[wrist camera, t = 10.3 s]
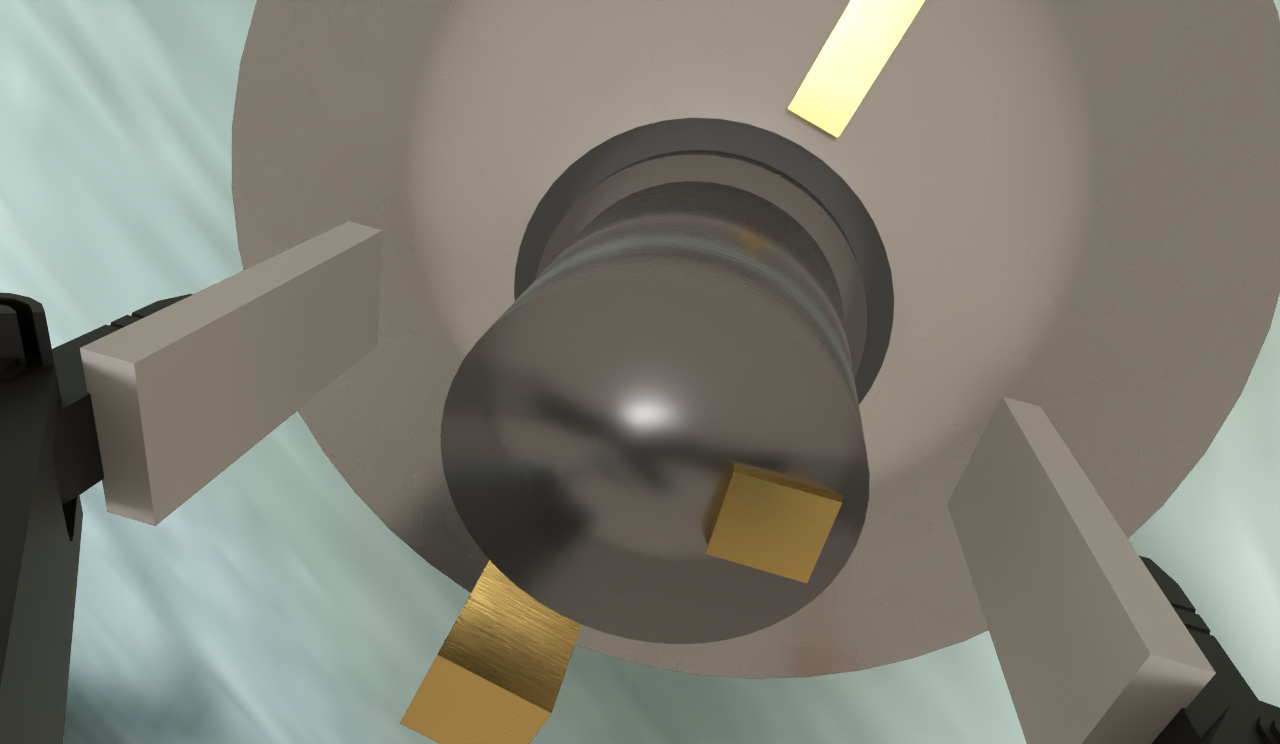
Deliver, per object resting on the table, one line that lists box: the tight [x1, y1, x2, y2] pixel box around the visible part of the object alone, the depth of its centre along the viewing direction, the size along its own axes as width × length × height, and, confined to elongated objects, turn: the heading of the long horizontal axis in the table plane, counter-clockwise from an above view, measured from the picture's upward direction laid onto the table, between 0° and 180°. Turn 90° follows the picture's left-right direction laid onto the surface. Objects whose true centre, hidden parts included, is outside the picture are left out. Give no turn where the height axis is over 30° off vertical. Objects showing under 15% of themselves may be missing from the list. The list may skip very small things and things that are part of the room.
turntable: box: [232, 0, 1280, 744], centre depth 16 cm, size 24×24×6 cm
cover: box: [441, 150, 870, 644], centre depth 14 cm, size 8×8×7 cm
